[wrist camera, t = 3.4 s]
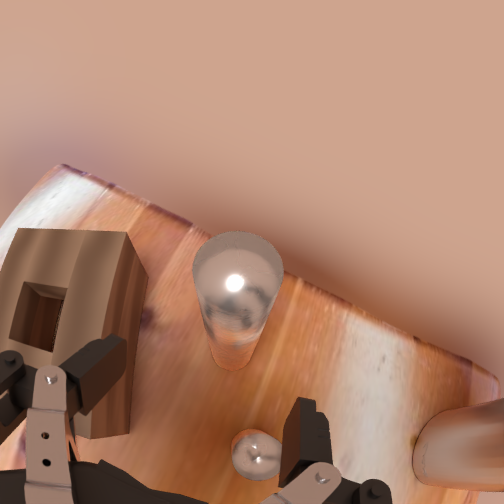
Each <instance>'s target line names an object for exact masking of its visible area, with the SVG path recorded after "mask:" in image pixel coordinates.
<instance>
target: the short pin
mask: <svg viewBox="0 0 504 504" xmlns="http://www.w3.org/2000/svg"><path fill="white" fill-rule="evenodd" d="M231 453H232V462H233V465H234V467H235V469H236V471H237V472H238V473H239V474H240V475H242V476H243V477H245V478H247V479H250V480H255V481H261V480H267V479H270V478H272V477H274V476H275V475H277V474H278V473H279V472H280V464H281V453H282V444H281V443H280V442H279V441H278V440H277V439H275V438H273V437H272V436H270V435H268V434H266V433H265V432H263V431H261V430H258V429H246V430H243V431H241V432H239V433H238V434H237V435H236V436H235V437H234V438H233V440H232V443H231Z"/></svg>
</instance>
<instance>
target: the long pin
mask: <svg viewBox="0 0 504 504" xmlns="http://www.w3.org/2000/svg"><path fill="white" fill-rule="evenodd" d="M283 271H284V270H283V264H282V261H281V258H280V256H279V254H278V252H277V251H276V249H275V248H274V247H273V246H272V245H271V244H270V243H269V242H268V241H267V240H265V239H264V238H262V237H260V236H258V235H256V234H252V233H249V232H243V231H230V232H225V233H221V234H218V235H216V236H214V237H212V238H211V239H209V240H208V241H207V242H205V243H204V244H203V245H202V246H201V248H200V249H199V250H198V252H197V254H196V256H195V258H194V262H193V269H192V272H193V279H194V283H195V288H196V292H197V297H198V301H199V305H200V309H201V313H202V317H203V321H204V325H205V329H206V333H207V337H208V341H209V345H210V349H211V352H212V356H213V359H214V361H215V362H216V364H217V365H218V366H219V367H221V368H223V369H225V370H229V371H235V370H239V369H241V368H243V367H244V366H246V365H247V363H248V362H249V360H250V358H251V356H252V354H253V351H254V349H255V347H256V344H257V342H258V340H259V337H260V335H261V333H262V330H263V328H264V325H265V323H266V321H267V318H268V316H269V313H270V311H271V309H272V306H273V304H274V301H275V299H276V296H277V294H278V291H279V289H280V287H281V284H282V281H283Z"/></svg>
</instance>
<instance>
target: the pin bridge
mask: <svg viewBox="0 0 504 504" xmlns="http://www.w3.org/2000/svg"><path fill="white" fill-rule="evenodd" d="M147 282H148V276H147V274H146V272H145V270H144V268H143V266H142V264H141V262H140V260H139V257H138V255H137V253H136V251H135V249H134V247H133V245H132V243H131V240H130V238H129V236H128V234H127V232H115V231H91V230H65V229H34V228H18V230H17V232H16V234H15V236H14V239H13V241H12V243H11V245H10V248H9V250H8V253H7V255H6V258H5V260H4V263H3V265H2V268H1V271H0V353H1V352H3V351H6V350H14V351H17V352H19V353H20V354H21V355H22V356H23V359H24V364H26V365H29V366H32V367H34V368H37V369H39V368H41V367H43V366H46V365H53V366H57V367H58V366H59V365H61V364H62V363H63V362H64V361H66V360H67V359H68V358H69V357H71V356H72V355H73V354H75V353H76V352H78V350H80V349H81V348H83V347H84V346H85V345H86V344H87V343H89V342H90V341H93V340H96V339H99V338H100V339H102V340H103V339H105V338H106V337H107V336H108V335H110V334H111V333H113V334H115V335H117V336H119V337H121V338H124V339H126V340H127V363H126V369H125V372H124V374H123V376H122V377H121V378H120V379H119V380H118V381H117V382H116V383H115V385H114V386H113V387H112V388H111V389H110V390H109V391H108V392H107V393H106V395H105V396H104V397H103V398H102V399H101V400H100V401H99V402H98V403H97V405H96V406H95V407H94V408H93V409H92V410H91V411H90V412H89V413H88V415H87V416H84V415H82V414H81V413H79V412H77V413H76V414H75V415H74V418H75V429H76V435H79V436H82V437H85V438H88V439H97V438H104V437H111V436H118V435H124V434H129V420H130V405H131V393H132V382H133V373H134V364H135V356H136V348H137V341H138V334H139V328H140V321H141V315H142V309H143V303H144V298H145V292H146V287H147ZM62 300H64V304H63V308H62V312H61V316H60V320H59V325H58V329H57V334H56V339H55V344H54V349H53V353H52V352H50V351H51V346H52V341H53V336H54V331H55V326H56V322H57V317H58V313H59V309H60V305H61V301H62ZM6 393H7V390H6V391H5V392H4V393H3V394H2V395H0V399H1V398H2V397H3V396H4V395H5V394H6Z"/></svg>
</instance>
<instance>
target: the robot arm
mask: <svg viewBox="0 0 504 504" xmlns="http://www.w3.org/2000/svg"><path fill="white" fill-rule="evenodd" d="M126 363H127V340H126V339H124V338H121V337H119V336H117V335H115V334H113V333H111V334H110V335H108V336H107V337H106V338H105V339H103V340H102V339H100V338H99V339H96V340H93V341H90V342H89V343H87V344H86V345H85V346H84V347H83V348H81V349H80V350H78V352H76V353H75V354H73V355H72V356H71V357H69V358H68V359H67V360H66V361H64V362H63V363H62V364H61V365H59V366H58V367H57V366H53V365H46V366H43V367H41V368H39V369H37V368H34V367H32V366H29V365H26V364H24V359H23V356H22V355H21V354H20V353H19V352H17V351H14V350H6V351H3V352H1V353H0V395H2V394H3V393H4V392H5V391H6V390H7V393H6V394H5V395H4V396H3V397H2V398H1V399H0V445H1V444H2V443H3V442H4V441H5V440H6V438H7V437H8V436H9V435H10V434H11V433H12V432H13V431H14V430H15V429H16V428H17V427H18V426H19V424H20V423H21V422H22V421H23V420H24V419H25V418H26V417H27V422H26V469H17V470H4V471H0V504H208V503H207V502H203V501H200V500H196V499H193V498H190V497H187V496H184V495H181V494H175V493H168V492H163V491H157V490H152V489H149V488H147V487H146V486H144V485H143V484H142V483H140V482H139V481H137V480H136V479H135V478H133V477H132V476H131V475H129V474H128V473H127V472H125V471H123V470H121V469H119V468H117V467H115V466H113V465H111V464H109V463H108V462H106V461H104V460H102V459H101V460H100V462H99V463H98V464H95V463H90V462H83V461H80V457H79V453H78V447H77V439H76V429H75V418H74V415H75V414H76V413H77V412H79V413H81V414H82V415H84V416H87V415H88V413H89V412H90V411H91V410H92V409H93V408H94V407H95V406H96V405H97V403H98V402H99V401H100V400H101V399H102V398H103V397H104V396H105V395H106V393H107V392H108V391H109V390H110V389H111V388H112V387H113V386H114V385H115V383H116V382H117V381H118V380H119V379H120V378H121V377H122V376H123V374H124V372H125V369H126ZM413 468H414V472H415V475H416V476H417V478H418V479H419V480H420V481H421V482H422V483H424V484H427V485H432V486H438V487H445V488H451V489H459V490H469V491H485V492H504V398H501V399H498V400H494V401H490V402H486V403H482V404H478V405H473V406H468V407H463V408H458V409H452V410H447V411H444V412H441V413H439V414H437V415H436V416H434V417H433V418H432V419H431V420H430V421H429V422H428V423H427V424H426V426H425V427H424V428H423V430H422V432H421V433H420V435H419V438H418V440H417V442H416V445H415V449H414V454H413ZM278 487H280V488H283V489H282V490H280V491H279V492H278V493H274V494H272V495H271V496H269V497H268V498H266V499H265V500H264V501H262V502H261V503H259V504H392V497H391V491H390V488H389V487H388V485H387V484H386V483H384V482H383V481H381V480H377V479H369V480H366V481H365V482H363V483H362V484H359V483H356V482H353V481H350V480H347V479H345V478H343V477H341V474H340V472H339V470H338V469H337V468H336V467H334V466H333V460H332V449H331V439H330V432H329V421H328V420H327V418H326V416H325V415H324V413H322V412H316V402H315V400H312V399H307V398H302V397H298V398H297V400H296V402H295V404H294V406H293V408H292V410H291V412H290V414H289V415H288V417H287V419H286V422H285V425H284V429H283V440H282V453H281V464H280V475H279V485H278Z"/></svg>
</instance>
